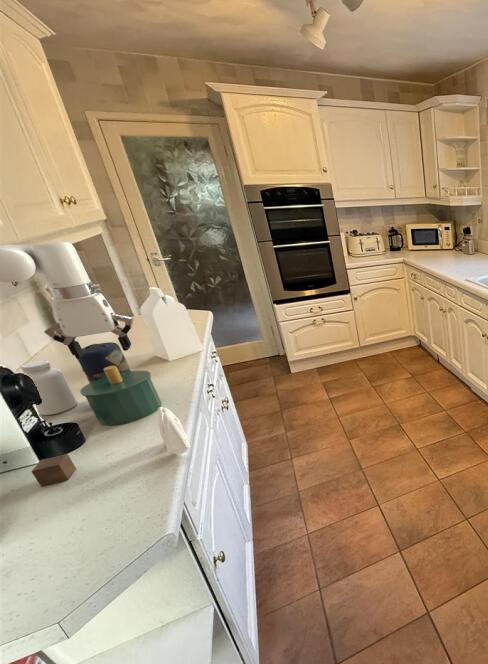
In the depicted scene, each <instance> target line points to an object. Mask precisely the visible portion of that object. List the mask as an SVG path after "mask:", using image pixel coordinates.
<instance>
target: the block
mask: <svg viewBox="0 0 488 664" xmlns="http://www.w3.org/2000/svg"><path fill="white" fill-rule="evenodd" d="M76 470H77V467H76V466H75V463H74V462H73V460H72V459H71V457H70V456H69V454H68V453H65V454H61V455H56V456H52V457H47V458H43V459H41V460H40V461H38V463H36V465H35V466H34V468H33V469H32V470H31V473H32V476H34V478H35V479H36V481H37V482H38V484H39V485H40V487H41V488H44V487H47V486H50V485H54V484H58V483H59V484H60V483H62V482H67V481H69V480H70V479H71V477H72V475H74V473H75V472H76Z"/></svg>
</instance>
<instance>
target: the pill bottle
mask: <svg viewBox="0 0 488 664" xmlns="http://www.w3.org/2000/svg"><path fill="white" fill-rule="evenodd" d="M20 369H21V371H22V372H23V374H24V375H27V376H29V377H30V378H31V379H32V380H33V382H34V384H35V386H36V387H37V390H38V391H39V393H40V395H41V397H42V404H40V405H36V407H35V409H36V408H37V409H36V411H37V410H38V411H37V412H38V413H39V414H40V415H42V416H50V415H57V414H60V413H63V412H66V411H69V410H72V409H73V408H75V407H76V406H77V405H78V401H77V398H76V396H75V395H74V392H73V390H72V389H71V387H70V385H69V383H68V381H67V379H66V378H65V375H64V373H63V372H62V371H61V370H60V369H59V368H57V367H52V365H51V363H50V361H49V360H47V359H40V360H34V361H31V362H27V363H24V364H22V365H21V366H20Z"/></svg>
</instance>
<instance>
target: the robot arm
mask: <svg viewBox="0 0 488 664" xmlns="http://www.w3.org/2000/svg"><path fill="white" fill-rule="evenodd" d="M37 273H40V275H41V276H42V278H43V280H44V282H45V283H46V285H47V287H48V289H49V291H50V293H51V296H52V297H53V299H52V300H51V302H52V307H53V311H54V315H55V317H56V320H57V323H55V324H53V325H52V326H50V327H49V328H47V329H45V330H44V334H46V335H47V336H49V337H50V338H52V339H53V340H54V341H56V342H58V343H61V344H63V345H64V346H67V348H68V350H69V352H70V353H71V355H72V356H74V358H75V359H76V360H77V359H79V358H81V357H82V356H83V355H84V352H83V350H82V348H83V347H82V346H81V345H80V343H79V341H78V340H76V339H77V338H78V337H85V336H92V335H98V334H105V333H113V334H115V335H116V336H118V338H117V340H118V343H119V344H120V347H121V348H122V351H124V352H127V351H128V350H129V349H131V346H132V342H131V340H130V338H129V335H128V333H129V332H130V331H131V330H132V328H133V323H134V318H133V317H131V316H127V315H121V314H117V313H115V311H114V309H113V308H112V306H111V305H110V304H109V302H108V300H107V299H106V298H105V296H104V295H103V294H102V292H98V291H100V290H102V286H101V285H100V284H94V283H93V281H91V279H90V277H89V275H88V273H87V271H86V268H85V267H84V265H83V263H82V260H81V258H80V256H79V254H78V252H77V249H76V248H75V246H74V245H73V243H71V242H69V241H65V240H57V241H43V242H38V243H33V244H0V282H5V283H19V282H23V281H27V280H28V279H30V278H31V277H33V275H34V274H37ZM120 322H123V323H124V327H122V326H120V325H121V323H120ZM59 329H61V331H62V333H63V334H64V335H63V334H61V333H59V332H58V330H59Z"/></svg>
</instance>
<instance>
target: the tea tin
mask: <svg viewBox="0 0 488 664" xmlns="http://www.w3.org/2000/svg"><path fill="white" fill-rule="evenodd" d="M84 397H85V399H86V401H87V403H88V404H89V406H90V408H91V410H92V412H93V413H94V415H95V417H96V419H97V421H98V423H99V424H100V425H101V426H107V427H112V426H120V425H125V424H130V423H133V422H136V421H139V420H142V419H144V418H146V417H148V416H150V415H152V414H153V413H155V412H158V408H159V407H162V400H161V399H160V397H159V394H158V392H157V390H156V387H155V385H154V383H153V381H152V379H151V377H150V379H149V380H147V381H146V382H144V383H143V384H141V385H139V386H136V387H134V388H131V389H129V390H126V391H122V392H119V393H115V394H111V395H105V396H98V397H86V396H84Z"/></svg>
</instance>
